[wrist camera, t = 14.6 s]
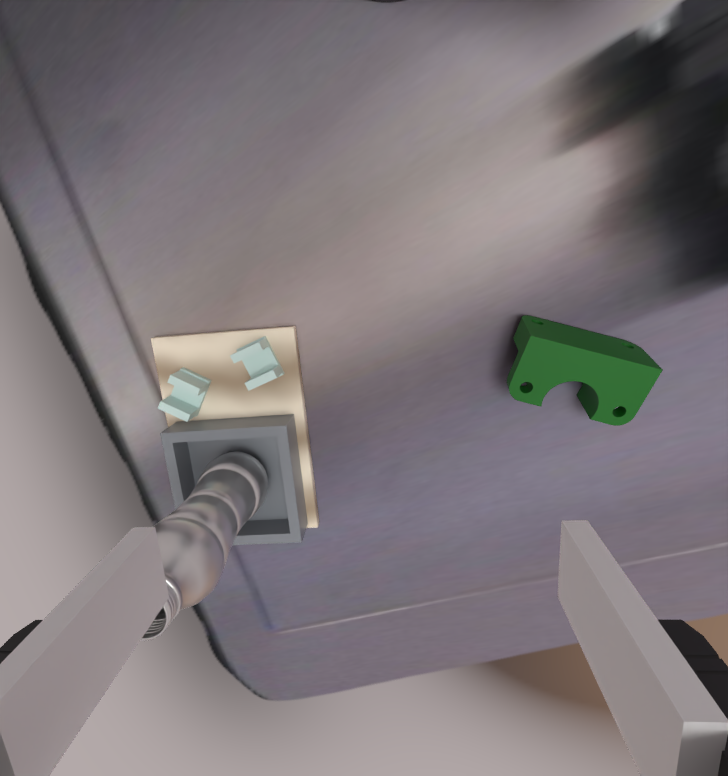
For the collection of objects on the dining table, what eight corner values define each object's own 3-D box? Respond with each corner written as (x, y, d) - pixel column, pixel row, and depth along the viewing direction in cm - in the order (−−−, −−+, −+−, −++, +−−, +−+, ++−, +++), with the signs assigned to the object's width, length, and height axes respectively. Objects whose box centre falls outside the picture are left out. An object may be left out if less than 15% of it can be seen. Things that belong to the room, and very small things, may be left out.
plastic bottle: (282, 459, 48) (206, 590, 28) (260, 515, 50) (174, 675, 30) (221, 434, 48) (103, 551, 28) (202, 492, 49) (77, 638, 30)
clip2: (183, 367, 47) (170, 373, 44) (211, 380, 47) (200, 386, 44) (170, 402, 48) (157, 410, 45) (197, 415, 48) (186, 423, 45)
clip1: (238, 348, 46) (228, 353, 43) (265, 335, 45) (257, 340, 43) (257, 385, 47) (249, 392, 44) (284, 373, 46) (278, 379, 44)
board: (155, 336, 47) (150, 338, 46) (295, 325, 46) (293, 327, 45) (192, 528, 52) (188, 533, 51) (319, 522, 51) (317, 527, 50)
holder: (176, 421, 48) (160, 433, 45) (293, 414, 47) (286, 425, 44) (196, 528, 51) (182, 547, 48) (307, 523, 50) (301, 542, 47)
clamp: (510, 359, 50) (485, 388, 43) (533, 306, 47) (510, 327, 40) (629, 409, 46) (624, 450, 39) (662, 354, 43) (663, 387, 36)
